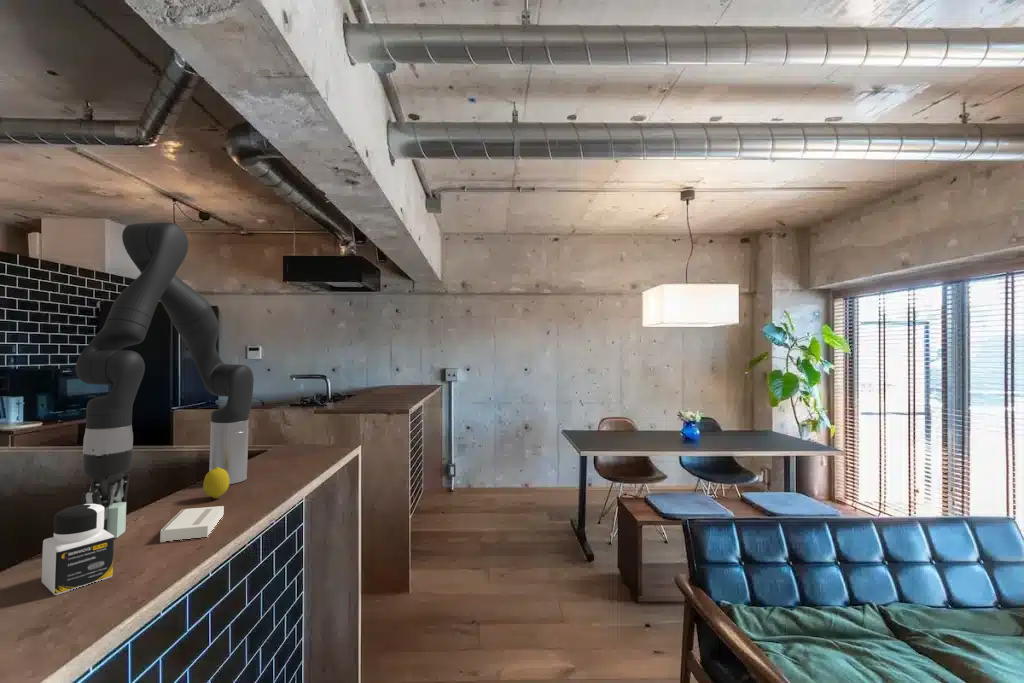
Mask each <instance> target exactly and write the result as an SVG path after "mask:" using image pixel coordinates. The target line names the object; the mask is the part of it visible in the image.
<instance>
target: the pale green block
mask: <svg viewBox="0 0 1024 683" xmlns="http://www.w3.org/2000/svg"><path fill="white" fill-rule="evenodd" d="M126 516H127V501H126V502H120V503H113V505H112V506H111V507H109V511H108V517H107V519H108V520H107V532H109V533H110V534H112V535H114V539H117V538H119V537H120V536H121V535H122V534H124V533H125V532H126V525H127V524H126V521H127V517H126Z"/></svg>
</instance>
